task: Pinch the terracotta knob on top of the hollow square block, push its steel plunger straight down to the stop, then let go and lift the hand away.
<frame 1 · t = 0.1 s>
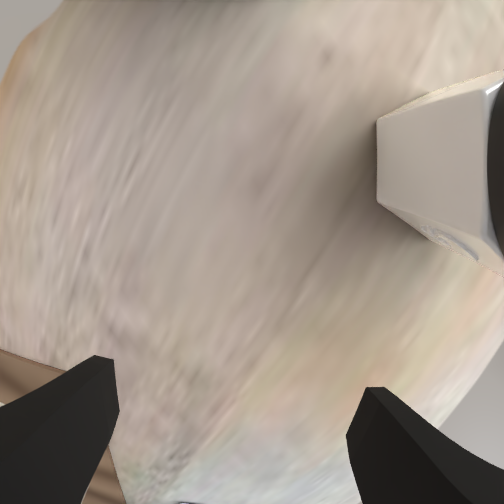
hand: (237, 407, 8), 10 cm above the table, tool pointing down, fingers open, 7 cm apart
jar: (432, 165, 17), on the table
board: (42, 443, 22), on the table
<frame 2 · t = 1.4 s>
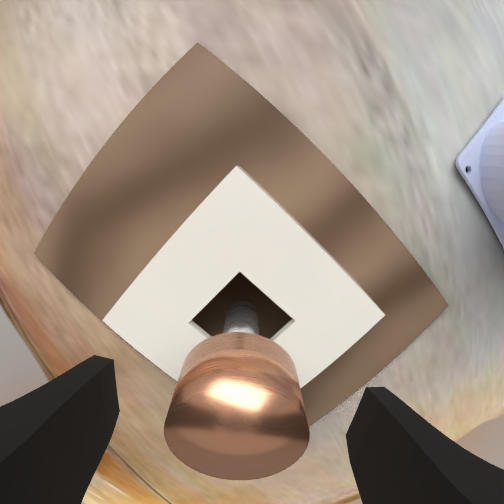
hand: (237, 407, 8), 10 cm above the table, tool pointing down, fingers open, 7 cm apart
board: (243, 282, 18), on the table
hollow square block: (242, 301, 16), on the board
plunger: (239, 362, 11), point 8 cm above the table, slide at 0.0 cm
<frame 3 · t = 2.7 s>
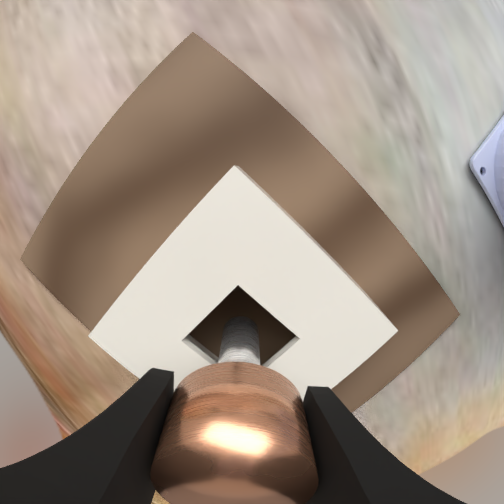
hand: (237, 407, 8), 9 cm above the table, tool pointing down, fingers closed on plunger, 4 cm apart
board: (242, 292, 17), on the table
hollow square block: (241, 314, 14), on the board
plunger: (238, 390, 9), point 8 cm above the table, slide at 0.0 cm, touching gripper
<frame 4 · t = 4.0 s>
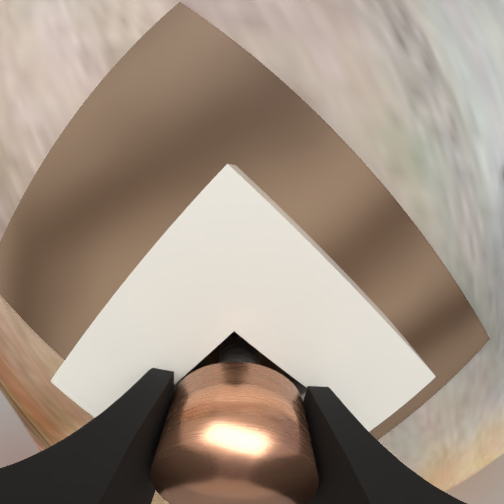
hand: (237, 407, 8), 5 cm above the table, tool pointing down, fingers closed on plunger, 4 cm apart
board: (241, 321, 14), on the table
hollow square block: (239, 356, 11), on the board
plunger: (238, 390, 9), point 5 cm above the table, slide at 3.4 cm, touching gripper
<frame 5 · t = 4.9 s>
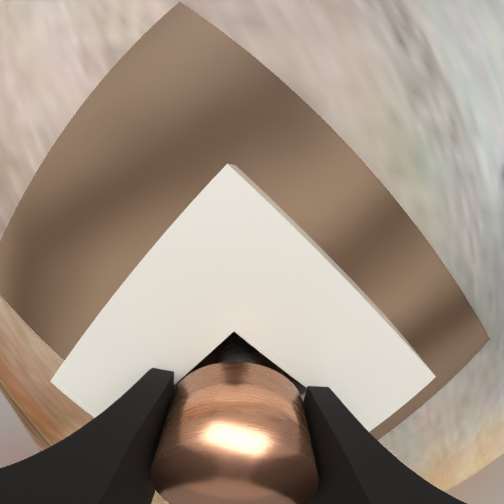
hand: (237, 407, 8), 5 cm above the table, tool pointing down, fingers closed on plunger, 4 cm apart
board: (241, 321, 14), on the table
hollow square block: (239, 356, 11), on the board
plunger: (238, 390, 9), point 5 cm above the table, slide at 3.4 cm, touching gripper
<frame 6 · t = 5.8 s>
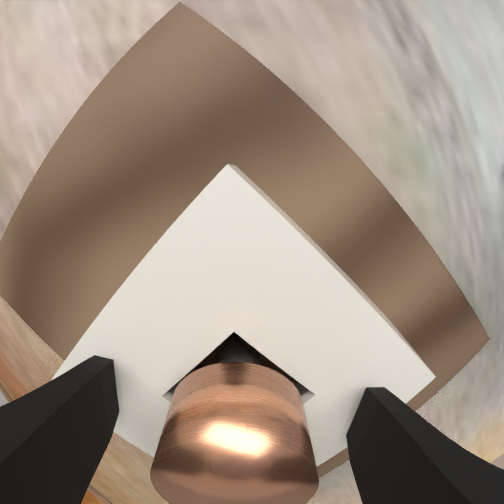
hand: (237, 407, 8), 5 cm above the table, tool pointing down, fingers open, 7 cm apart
board: (241, 321, 14), on the table
hollow square block: (239, 356, 11), on the board
plunger: (238, 390, 9), point 5 cm above the table, slide at 3.4 cm
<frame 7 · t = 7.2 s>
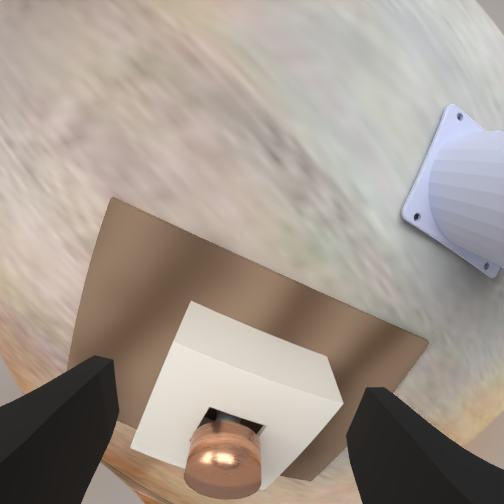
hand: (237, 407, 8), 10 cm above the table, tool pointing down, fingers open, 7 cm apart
board: (231, 381, 20), on the table
hollow square block: (229, 407, 18), on the board
plunger: (227, 430, 16), point 5 cm above the table, slide at 3.4 cm
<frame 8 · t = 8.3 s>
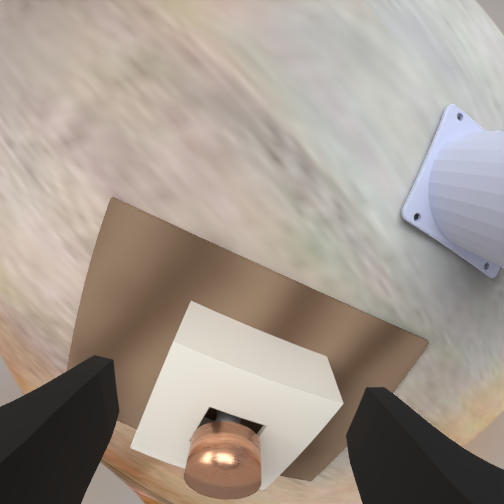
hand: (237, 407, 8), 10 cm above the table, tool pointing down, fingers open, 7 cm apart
board: (231, 381, 20), on the table
hollow square block: (229, 407, 18), on the board
plunger: (227, 430, 16), point 5 cm above the table, slide at 3.4 cm
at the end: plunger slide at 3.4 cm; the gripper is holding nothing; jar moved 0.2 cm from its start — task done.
